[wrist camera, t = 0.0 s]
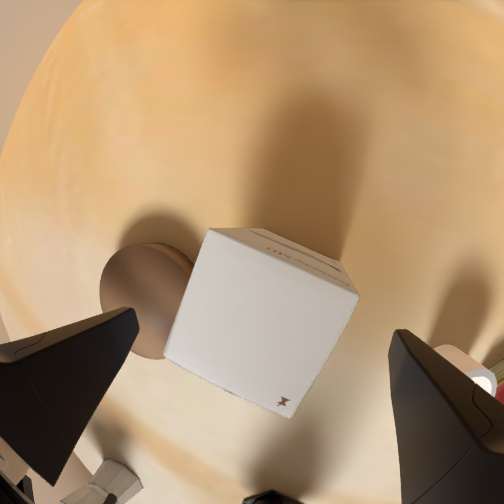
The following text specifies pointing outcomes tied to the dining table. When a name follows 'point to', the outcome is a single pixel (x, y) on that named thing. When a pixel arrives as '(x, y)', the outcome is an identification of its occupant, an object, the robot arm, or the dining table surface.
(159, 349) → the walnut pedestal
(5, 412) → the robot arm
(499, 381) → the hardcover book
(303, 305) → the supplement box
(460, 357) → the shot glass
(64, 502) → the coffee maker
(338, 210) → the dining table surface
